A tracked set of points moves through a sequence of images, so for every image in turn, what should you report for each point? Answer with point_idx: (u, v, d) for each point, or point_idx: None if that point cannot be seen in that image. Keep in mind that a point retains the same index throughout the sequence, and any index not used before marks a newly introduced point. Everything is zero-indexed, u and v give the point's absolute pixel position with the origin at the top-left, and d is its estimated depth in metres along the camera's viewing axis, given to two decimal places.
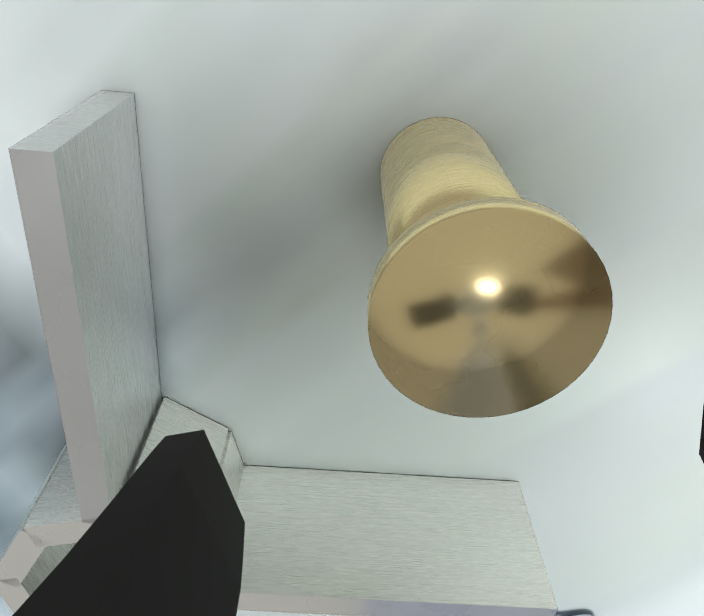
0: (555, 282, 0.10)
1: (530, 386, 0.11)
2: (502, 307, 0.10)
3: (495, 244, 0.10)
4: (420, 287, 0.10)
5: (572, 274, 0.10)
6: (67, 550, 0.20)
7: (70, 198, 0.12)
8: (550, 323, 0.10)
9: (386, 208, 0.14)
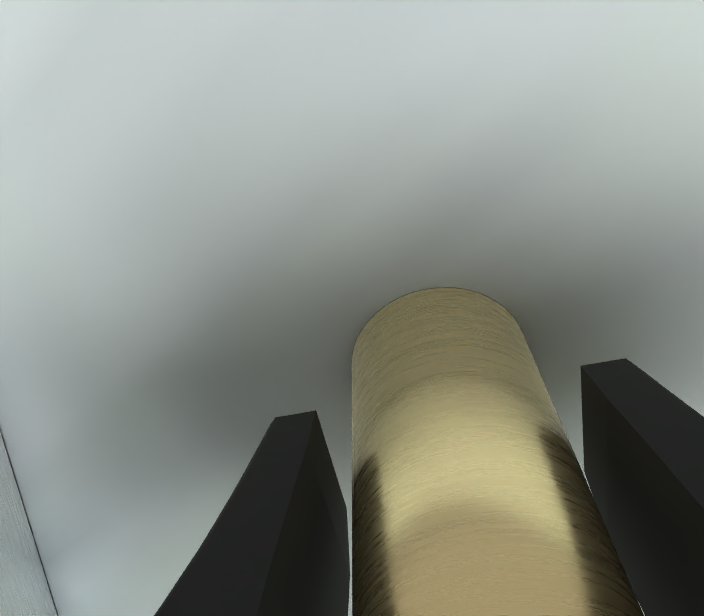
0: None
1: None
2: None
3: None
4: None
5: None
6: None
7: None
8: None
9: (352, 489, 0.08)
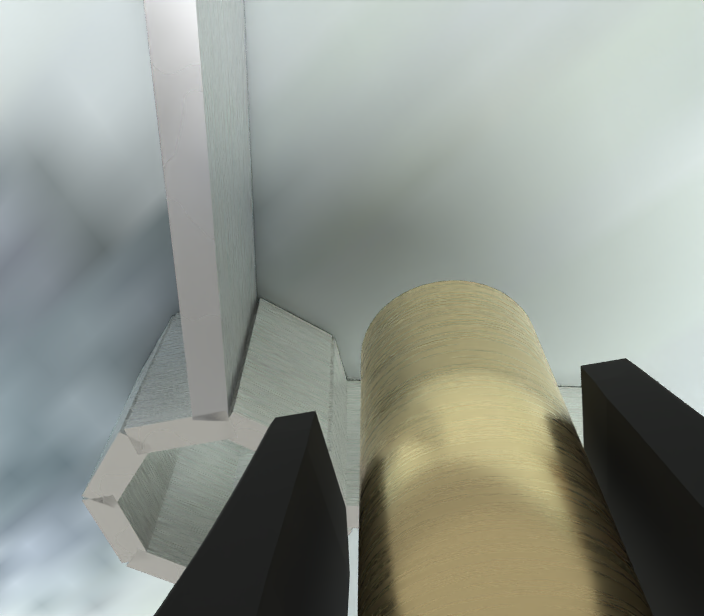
0: None
1: None
2: None
3: None
4: None
5: None
6: (158, 474, 0.18)
7: None
8: None
9: (360, 478, 0.08)
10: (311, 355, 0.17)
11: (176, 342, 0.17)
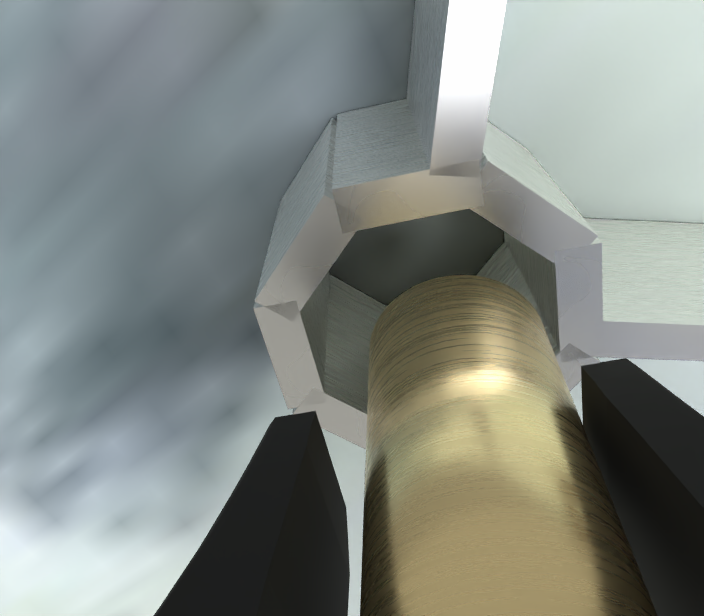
0: None
1: None
2: None
3: None
4: None
5: None
6: (320, 311, 0.14)
7: None
8: None
9: (366, 469, 0.08)
10: (523, 155, 0.14)
11: (354, 129, 0.13)
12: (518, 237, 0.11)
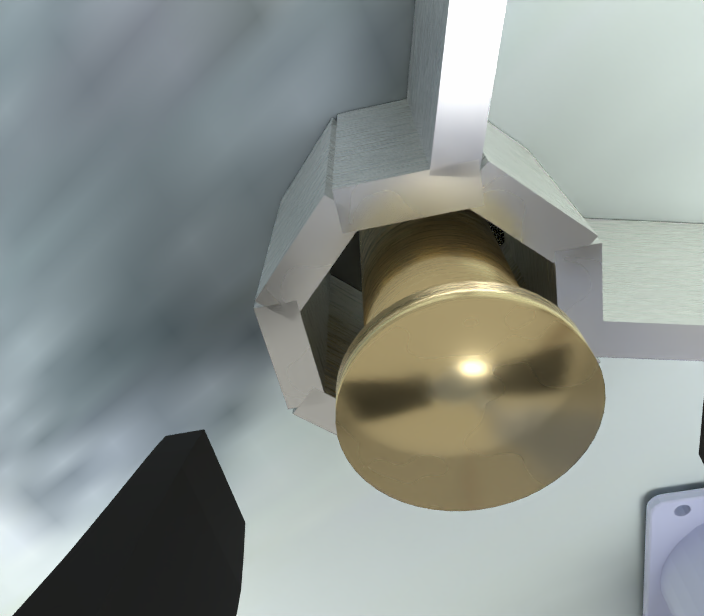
0: (542, 375, 0.09)
1: (515, 480, 0.10)
2: (483, 400, 0.09)
3: (474, 336, 0.09)
4: (391, 380, 0.09)
5: (560, 366, 0.09)
6: (320, 311, 0.14)
7: None
8: (536, 416, 0.09)
9: (362, 265, 0.13)
10: (523, 155, 0.14)
11: (354, 129, 0.13)
12: (518, 237, 0.11)
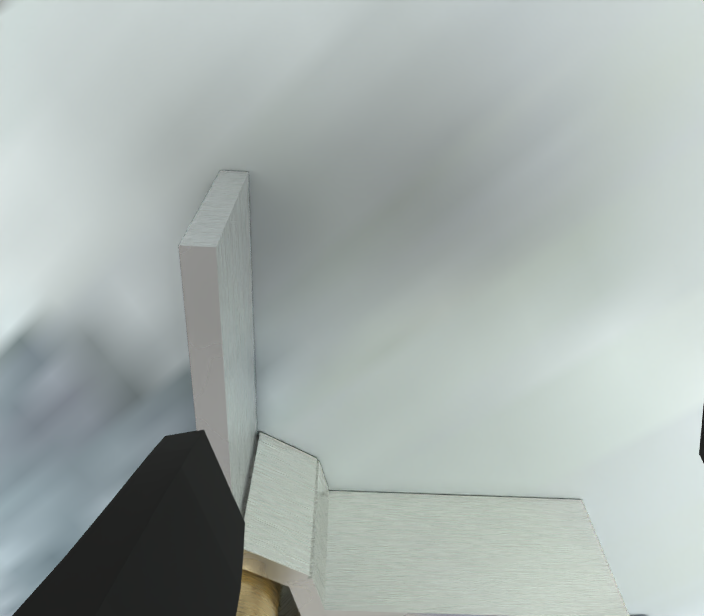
0: None
1: None
2: None
3: None
4: None
5: None
6: None
7: (222, 281, 0.14)
8: None
9: None
10: (300, 483, 0.22)
11: None
12: (264, 576, 0.19)
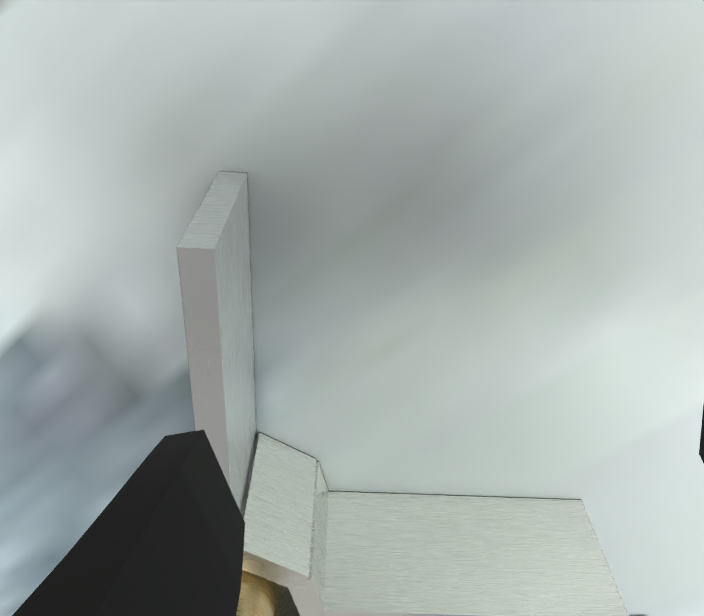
0: None
1: None
2: None
3: None
4: None
5: None
6: None
7: (220, 282, 0.14)
8: None
9: None
10: (299, 483, 0.22)
11: None
12: (263, 577, 0.19)
